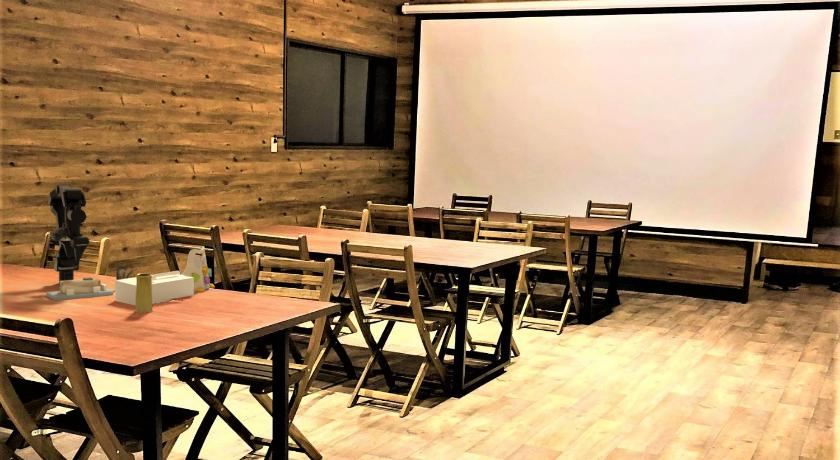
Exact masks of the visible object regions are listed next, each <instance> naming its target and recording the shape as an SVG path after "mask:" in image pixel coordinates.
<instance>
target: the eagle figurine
mask: <svg viewBox="0 0 840 460" xmlns="http://www.w3.org/2000/svg"><path fill="white" fill-rule="evenodd" d="M134 268H135V267H133V268H132V269H131V270H130V271H128V268H126V267H125V266H120V267H118V268H117V269H116V271H115V275H116V279H115V280H121V279H128V278H130V276H131V275H132V272H133V271H134ZM127 271H128V272H127ZM126 272H127V274H126Z"/></svg>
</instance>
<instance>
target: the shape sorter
mask: <svg viewBox="0 0 840 460" xmlns="http://www.w3.org/2000/svg"><path fill="white" fill-rule="evenodd" d="M205 251H206V249H205V246H203V245H202V246H201V249H196V248H194V249H190V251H189V252H188V256H187V261H186V262H187V263H186V266H185V269H184V270H183V272H182V273H180V275H184V276H189V277H193V278H194V292H205V291H206V290H207V289H210V288H215V285H214V284H213V283H210V282H211V279H210V278H212V268H209V267H208V264H207V257H206V252H205ZM197 254H199V255H201V257H200V256H198V255H197Z"/></svg>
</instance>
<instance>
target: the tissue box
mask: <svg viewBox="0 0 840 460" xmlns="http://www.w3.org/2000/svg"><path fill="white" fill-rule="evenodd" d="M151 275H152V305H154V304H155V303H156V304H161V303H160V302H163V303H167V302H166V301H169V302H172V301H171V300H175V301H177V299H178V298H179V299H180V298H184V297H185V298H187V297H191V296H194V293H195V291H194V278H193V277H189V276H184V275H181V271H180V270H173V271H169V272H162V273H155V274H151ZM114 289H115V290H114V292H115V293H114V295H115V296H114V297H115V298H114V301H115V302H118V303H123V304H126V305H127V304H128V305H132V306H134V307H135V306H136V276H135V277H128V279H121V280H116V279H115V281H114ZM156 304H155V305H156Z"/></svg>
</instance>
